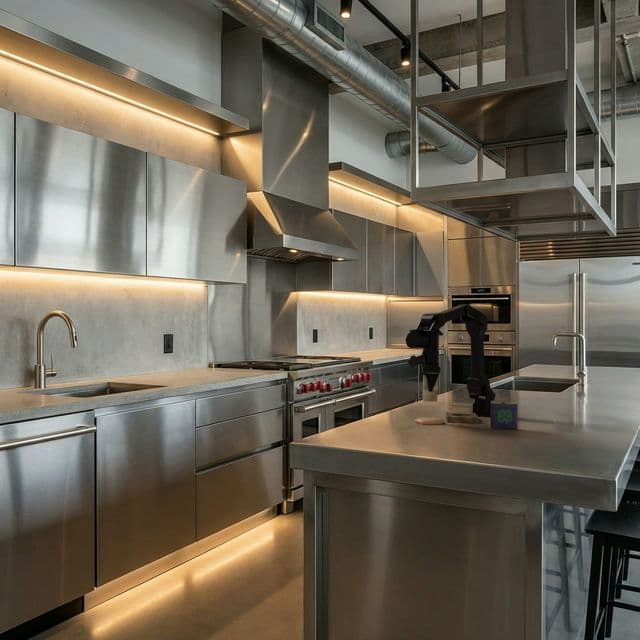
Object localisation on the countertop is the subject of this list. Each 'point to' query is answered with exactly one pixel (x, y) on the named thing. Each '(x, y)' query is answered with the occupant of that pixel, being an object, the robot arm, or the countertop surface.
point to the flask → (504, 415)
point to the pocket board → (461, 417)
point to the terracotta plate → (429, 421)
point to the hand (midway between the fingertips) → (430, 391)
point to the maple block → (429, 395)
